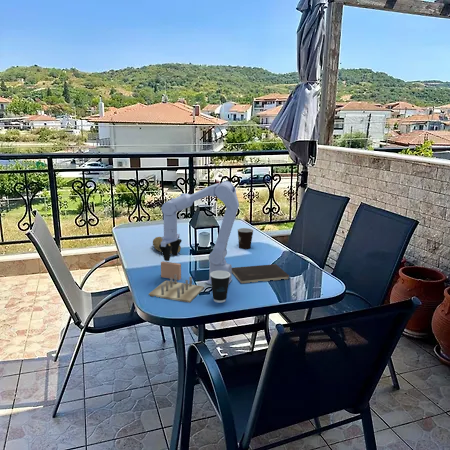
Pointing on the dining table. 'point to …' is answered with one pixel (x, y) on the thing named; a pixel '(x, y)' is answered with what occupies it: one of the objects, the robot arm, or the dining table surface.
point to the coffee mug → (245, 238)
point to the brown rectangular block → (170, 270)
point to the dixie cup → (220, 285)
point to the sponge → (158, 241)
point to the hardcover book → (259, 273)
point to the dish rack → (177, 290)
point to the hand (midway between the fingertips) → (170, 257)
